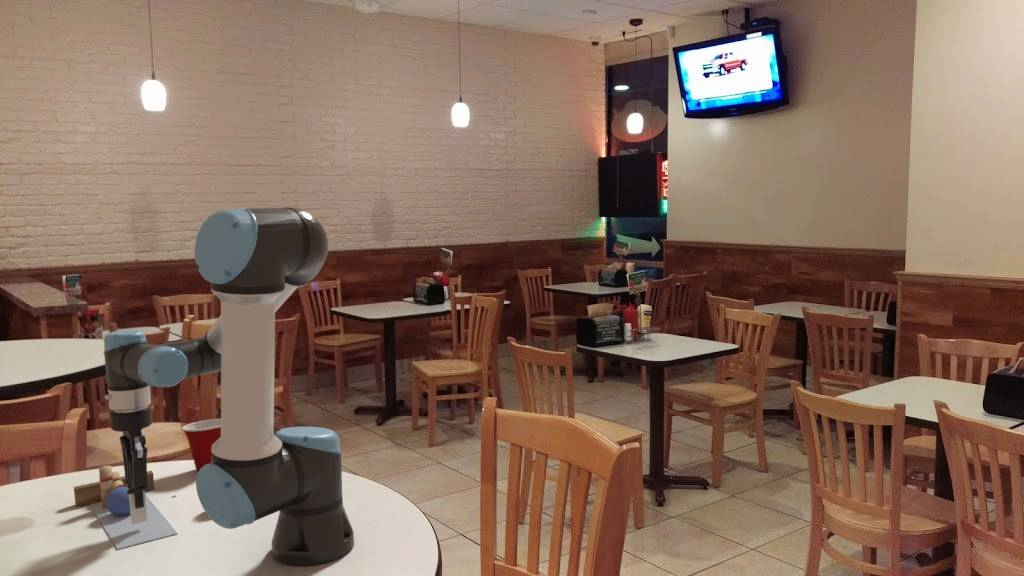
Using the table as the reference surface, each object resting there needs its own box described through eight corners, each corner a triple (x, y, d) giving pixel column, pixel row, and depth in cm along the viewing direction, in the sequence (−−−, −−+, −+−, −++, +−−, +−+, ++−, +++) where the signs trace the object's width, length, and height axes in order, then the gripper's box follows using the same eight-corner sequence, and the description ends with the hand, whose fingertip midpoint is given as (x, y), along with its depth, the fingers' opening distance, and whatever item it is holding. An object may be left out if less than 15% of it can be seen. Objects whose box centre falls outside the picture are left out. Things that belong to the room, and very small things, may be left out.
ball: (134, 499, 172) (143, 514, 168) (105, 510, 168) (113, 525, 164) (130, 477, 169) (139, 491, 165) (100, 488, 166) (109, 502, 162)
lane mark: (177, 534, 157) (177, 533, 156) (117, 549, 150) (117, 548, 150) (143, 493, 179) (143, 492, 179) (90, 505, 173) (90, 504, 173)
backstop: (154, 489, 182) (153, 472, 181) (76, 506, 172) (75, 489, 172) (152, 487, 183) (151, 470, 183) (75, 504, 174) (73, 486, 173)
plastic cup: (215, 459, 202) (212, 414, 201) (240, 467, 196) (237, 420, 195) (176, 471, 194) (172, 424, 192) (201, 480, 187) (198, 431, 186)
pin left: (115, 507, 171) (112, 467, 170) (103, 510, 170) (99, 470, 169) (113, 503, 173) (110, 464, 172) (101, 506, 172) (97, 467, 171)
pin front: (129, 498, 171) (119, 470, 176) (117, 501, 169) (107, 473, 175) (130, 506, 172) (119, 478, 178) (117, 509, 170) (107, 481, 176)
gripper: (103, 404, 159) (112, 516, 161) (116, 418, 149) (125, 537, 151) (143, 398, 163) (151, 507, 166) (158, 410, 153) (167, 526, 156)
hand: (139, 521), depth 159 cm, fingers closed
